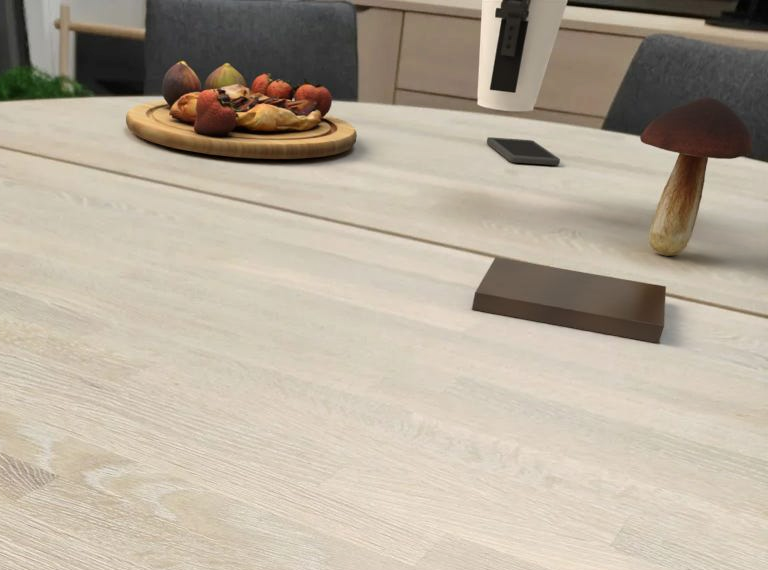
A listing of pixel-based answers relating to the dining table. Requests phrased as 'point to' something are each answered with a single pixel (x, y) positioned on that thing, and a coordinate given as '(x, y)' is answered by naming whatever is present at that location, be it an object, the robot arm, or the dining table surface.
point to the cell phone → (522, 151)
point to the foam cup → (535, 58)
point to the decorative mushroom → (691, 163)
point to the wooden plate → (241, 117)
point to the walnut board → (573, 299)
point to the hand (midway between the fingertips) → (508, 85)
